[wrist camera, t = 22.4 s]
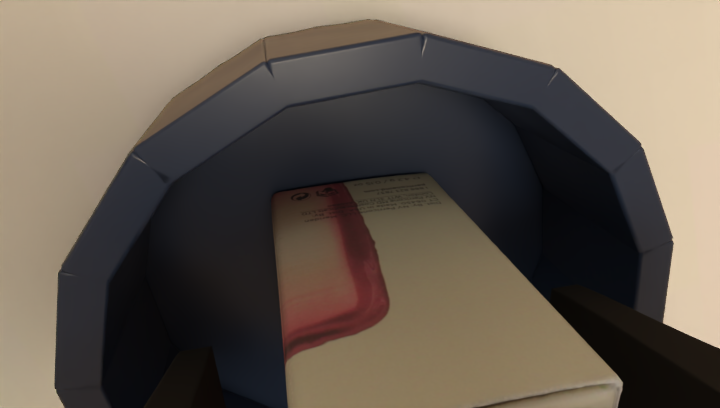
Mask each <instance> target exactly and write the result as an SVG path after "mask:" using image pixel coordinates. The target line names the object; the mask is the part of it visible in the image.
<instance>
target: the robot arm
mask: <svg viewBox="0 0 720 408" xmlns="http://www.w3.org/2000/svg"><path fill="white" fill-rule="evenodd" d="M550 304H551V305H552V306H553V307H554V308H555V309H556V310H557V312H558V313H559V314H560V315H561V316H562V317H563V318H564V319H565V320H566V321H567V322H568V323H569V324H570V325H571V326H572V328H573V329H574V330H575V331H576V332H577V333H578V334H579V335H580V336H581V337H582V338H583V339H584V340H585V341H586V343H587V344H588V345H589V346H590V347H591V348H592V349H593V350H594V351H595V352H596V353H597V354H598V355H599V356H600V357H601V358H602V359H603V360H604V362H605V363H606V364H607V365H608V366H609V367H610V368H611V369H612V370H613V371H614V372H615V373H616V374H617V375H618V377H619V378H620V379H621V381H622V382H623V386H622V392H621V395H620V399H619V403H618V408H720V349H719V348H717V347H714V346H712V345H710V344H707V343H705V342H703V341H701V340H698V339H696V338H694V337H692V336H689V335H687V334H685V333H683V332H681V331H678V330H676V329H674V328H672V327H670V326H668V325H665V324H663V323H661V322H659V321H657V320H655V319H653V318H651V317H648V316H646V315H644V314H642V313H640V312H638V311H636V310H634V309H632V308H630V307H627V306H625V305H623V304H621V303H619V302H617V301H615V300H613V299H610V298H608V297H606V296H604V295H602V294H600V293H597V292H595V291H593V290H590V289H588V288H586V287H583V286H581V285H578V284H576V285H570V286H564V287H558V288H552V289H551V296H550ZM143 408H226V405H225V401H224V397H223V392H222V388H221V384H220V379H219V375H218V371H217V366H216V362H215V358H214V353H213V349H212V346H209V347H203V348H197V349H191V350H185V351H180V352H179V353H178V354H177V355H176V357H175V358H174V360H173V361H172V363H171V365H170V366H169V368H168V369H167V371H166V373H165V374H164V376H163V378H162V379H161V381H160V382H159V384H158V386H157V387H156V389H155V390H154V392H153V393H152V395H151V397H150V398H149V400H148V401H147V403H146V404H145V406H144V407H143Z"/></svg>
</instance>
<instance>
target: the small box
mask: <svg viewBox="0 0 720 408" xmlns="http://www.w3.org/2000/svg"><path fill="white" fill-rule="evenodd" d="M271 209H272V224H273V236H274V246H275V256H276V267H277V278H278V290H279V302H280V314H281V326H282V339H283V351H284V364H285V376H286V390H287V403H288V408H618V403H619V399H620V395H621V392H622V386H623V382H622V381H621V379H620V378H619V377H618V375H617V374H616V373H615V372H614V371H613V370H612V369H611V368H610V367H609V366H608V365H607V364H606V363H605V362H604V360H603V359H602V358H601V357H600V356H599V355H598V354H597V353H596V352H595V351H594V350H593V349H592V348H591V347H590V346H589V345H588V344H587V343H586V341H585V340H584V339H583V338H582V337H581V336H580V335H579V334H578V333H577V332H576V331H575V330H574V329H573V328H572V326H571V325H570V324H569V323H568V322H567V321H566V320H565V319H564V318H563V317H562V316H561V315H560V314H559V313H558V312H557V310H556V309H555V308H554V307H553V306H552V305H551V304H550V303H549V302H548V301H547V300H546V299H545V298H544V297H543V296H542V295H541V294H540V293H539V291H538V290H537V289H536V288H535V287H534V286H533V285H532V284H531V283H530V282H529V281H528V280H527V278H526V277H525V276H524V275H523V274H522V273H521V272H520V271H519V270H518V269H517V268H516V267H515V266H514V265H513V264H512V263H511V261H510V260H509V259H508V258H507V257H506V256H505V255H504V254H503V253H502V252H501V251H500V250H499V249H498V247H497V246H496V245H495V244H494V243H493V242H492V241H491V240H490V239H489V238H488V237H487V236H486V235H485V234H484V233H483V232H482V230H481V229H480V228H479V227H478V226H477V225H476V224H475V223H474V222H473V221H472V220H471V219H470V218H469V217H468V215H467V214H466V213H465V212H464V211H463V210H462V209H461V208H460V207H459V206H458V205H457V204H456V203H455V201H454V200H453V199H451V198H450V197H449V195H448V194H447V193H446V192H445V191H444V190H443V189H442V188H441V187H440V185H439V184H438V183H437V182H436V181H435V180H434V179H433V178H432V177H431V176H430V175H429V174H427V173H417V174H407V175H397V176H388V177H378V178H370V179H362V180H354V181H348V182H342V183H334V184H327V185H320V186H314V187H307V188H300V189H295V190H290V191H282V192H278V193H275V194H274V195H273V196H272V199H271Z"/></svg>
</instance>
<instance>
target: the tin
mask: <svg viewBox="0 0 720 408" xmlns="http://www.w3.org/2000/svg"><path fill="white" fill-rule="evenodd" d="M417 173H427V174H429V175H430V176H431V177H432V178H433V179H434V180H435V181H436V182H437V183H438V184H439V185H440V187H441V188H442V189H443V190H444V191H445V192H446V193H447V194H448V195H449V197H450V198H451V199H453V200H454V201H455V203H456V204H457V205H458V206H459V207H460V208H461V209H462V210H463V211H464V212H465V213H466V214H467V215H468V217H469V218H470V219H471V220H472V221H473V222H474V223H475V224H476V225H477V226H478V227H479V228H480V229H481V230H482V232H483V233H484V234H485V235H486V236H487V237H488V238H489V239H490V240H491V241H492V242H493V243H494V244H495V245H496V246H497V247H498V249H499V250H500V251H501V252H502V253H503V254H504V255H505V256H506V257H507V258H508V259H509V260H510V261H511V263H512V264H513V265H514V266H515V267H516V268H517V269H518V270H519V271H520V272H521V273H522V274H523V275H524V276H525V277H526V278H527V280H528V281H529V282H530V283H531V284H532V285H533V286H534V287H535V288H536V289H537V290H538V291H539V293H540V294H541V295H542V296H543V297H544V298H545V299H546V300H547V301H548V302H549V303H550V296H551V289H552V288H558V287H564V286H570V285H576V284H578V285H581V286H583V287H586V288H588V289H590V290H593V291H595V292H597V293H600V294H602V295H604V296H606V297H608V298H610V299H613V300H615V301H617V302H619V303H621V304H623V305H625V306H627V307H630V308H632V309H634V310H636V311H638V312H640V313H642V314H644V315H646V316H648V317H651V318H653V319H655V320H657V321H659V322H661V323H663V318H664V311H665V303H666V296H667V288H668V281H669V274H670V266H671V259H672V251H673V244H674V243H673V241H672V238H673V237H672V234H671V231H670V228H669V225H668V222H667V219H666V216H665V213H664V210H663V207H662V204H661V201H660V198H659V195H658V192H657V189H656V185H655V182H654V179H653V176H652V173H651V170H650V167H649V164H648V161H647V158H646V155H645V152H644V149H643V148H642V147H641V143H640V142H639V141H638V140H637V139H636V138H635V137H634V136H633V135H632V134H631V133H629V132H628V131H627V130H626V129H625V128H624V127H623V126H622V125H621V124H620V123H619V122H617V121H616V120H615V119H614V118H613V117H612V116H611V115H610V114H609V113H608V112H606V111H605V110H604V109H603V108H602V107H601V106H600V105H599V104H598V103H597V102H596V101H594V100H593V99H592V98H591V97H590V96H589V95H588V94H587V93H586V92H585V91H584V90H582V89H581V88H580V87H579V86H578V85H577V84H576V83H575V82H574V81H573V80H572V79H570V78H569V77H568V76H567V75H566V74H565V73H564V72H563V71H562V70H561V69H559V68H555V67H553V66H552V65H550V64H546V63H543V62H539V61H535V60H531V59H527V58H523V57H520V56H516V55H512V54H508V53H504V52H500V51H497V50H493V49H489V48H485V47H481V46H477V45H474V44H470V43H466V42H462V41H458V40H454V39H451V38H447V37H443V36H439V35H435V34H431V33H428V32H424V31H419V30H415V29H411V28H407V27H403V26H399V25H395V24H391V23H387V22H383V21H379V20H370V19H367V20H361V21H356V22H350V23H344V24H338V25H328V26H319V27H313V28H309V29H305V30H301V31H297V32H292V33H287V34H281V35H275V36H270V37H266V38H264V39H260V40H258V41H257V42H256V43H254V44H253V45H251V46H250V47H248V48H247V49H245V50H244V51H242V52H241V53H239V54H238V55H236V56H235V57H233V58H231V59H229V60H228V61H226V62H224V63H222V64H221V65H219V66H217V67H216V68H215V69H214V70H212V71H211V72H210V73H208V74H207V75H206V76H205V77H203V78H202V79H200V80H199V81H197V82H196V83H194V84H193V85H191V86H190V87H188V88H187V89H185V90H184V91H182V92H181V93H179V94H178V95H176V96H175V97H174V98H172V100H171V101H170V102H169V103H168V104H167V105H166V107H165V108H164V109H163V111H162V112H161V113H160V114H159V116H158V117H157V118H156V119H155V121H154V122H153V123H152V124H151V126H150V127H149V128H148V129H147V131H146V132H145V133H144V134H143V136H142V137H141V138H140V139H139V141H138V142H137V143H136V145H135V146H134V147H133V148H132V150H131V151H130V152H129V153H128V155H127V157H126V158H125V160H124V162H123V163H122V165H121V167H120V168H119V170H118V172H117V173H116V175H115V177H114V179H113V180H112V182H111V184H110V185H109V187H108V189H107V190H106V192H105V194H104V195H103V197H102V199H101V200H100V202H99V204H98V205H97V207H96V209H95V210H94V212H93V214H92V215H91V217H90V219H89V220H88V222H87V224H86V225H85V227H84V229H83V230H82V232H81V234H80V235H79V237H78V239H77V240H76V242H75V244H74V245H73V247H72V249H71V250H70V252H69V254H68V255H67V257H66V259H65V260H64V262H63V264H62V267H61V270H60V271H59V273H58V293H57V324H56V355H55V389H56V392H57V394H58V396H59V398H60V400H61V402H62V403H63V405H64V407H65V408H143V407H144V406H145V404H146V403H147V401H148V400H149V398H150V397H151V395H152V393H153V392H154V390H155V389H156V387H157V386H158V384H159V382H160V381H161V379H162V378H163V376H164V374H165V373H166V371H167V369H168V368H169V366H170V365H171V363H172V361H173V360H174V358H175V357H176V355H177V354H178V353H179V352H180V351H185V350H191V349H197V348H203V347H209V346H212V349H213V353H214V358H215V362H216V366H217V371H218V375H219V379H220V384H221V388H222V392H223V397H224V401H225V405H226V408H288V403H287V390H286V376H285V364H284V351H283V339H282V326H281V314H280V302H279V290H278V278H277V267H276V256H275V246H274V236H273V224H272V209H271V199H272V196H273V195H274V194H275V193H278V192H282V191H290V190H295V189H300V188H307V187H314V186H320V185H327V184H334V183H342V182H348V181H354V180H362V179H370V178H378V177H388V176H397V175H407V174H417Z"/></svg>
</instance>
